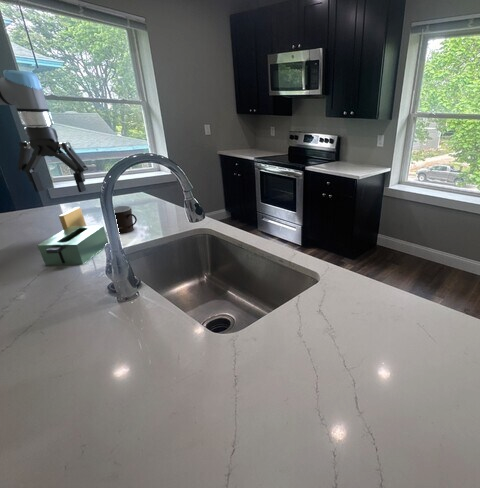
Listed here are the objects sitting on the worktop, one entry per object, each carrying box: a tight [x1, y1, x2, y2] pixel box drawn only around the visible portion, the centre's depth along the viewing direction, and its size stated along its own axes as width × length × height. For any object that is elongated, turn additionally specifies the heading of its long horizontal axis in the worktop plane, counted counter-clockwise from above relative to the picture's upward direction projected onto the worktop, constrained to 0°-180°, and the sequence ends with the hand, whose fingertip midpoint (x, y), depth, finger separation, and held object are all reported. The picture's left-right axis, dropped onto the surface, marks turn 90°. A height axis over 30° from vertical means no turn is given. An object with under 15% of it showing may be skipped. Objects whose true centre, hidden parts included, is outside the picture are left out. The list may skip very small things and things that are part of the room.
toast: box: [58, 206, 87, 231], centre depth 112 cm, size 2×10×11 cm, turn 8°
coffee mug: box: [113, 205, 138, 235], centre depth 120 cm, size 12×9×10 cm
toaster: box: [37, 225, 109, 266], centre depth 102 cm, size 11×16×8 cm
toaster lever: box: [46, 247, 63, 254], centre depth 92 cm, size 3×2×1 cm
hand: (61, 191), depth 104 cm, fingers open, 13 cm apart
